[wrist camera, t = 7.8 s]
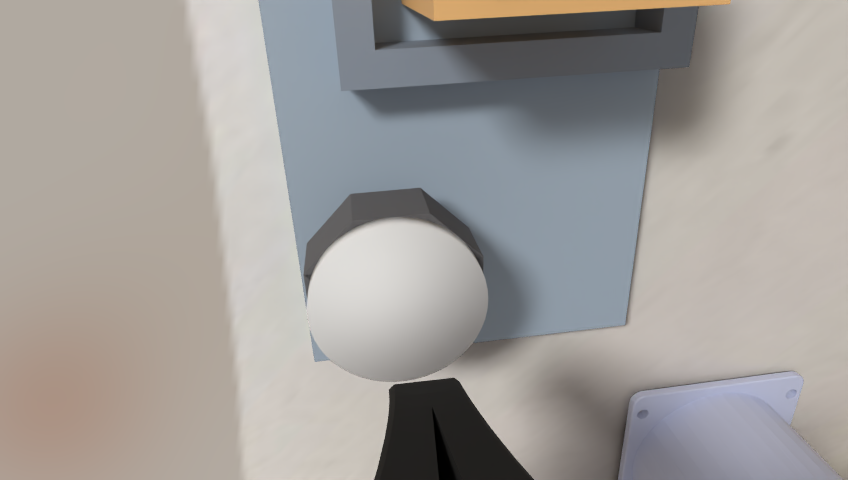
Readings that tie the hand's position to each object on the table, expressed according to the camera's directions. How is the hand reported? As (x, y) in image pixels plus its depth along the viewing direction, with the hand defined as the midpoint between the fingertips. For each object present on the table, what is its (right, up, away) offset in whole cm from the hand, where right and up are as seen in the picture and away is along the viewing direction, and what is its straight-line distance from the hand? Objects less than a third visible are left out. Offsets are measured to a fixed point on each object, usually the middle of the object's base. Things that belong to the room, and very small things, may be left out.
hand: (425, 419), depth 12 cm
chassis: (+1, +8, +7) cm, 11 cm away
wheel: (-1, +3, +6) cm, 7 cm away
